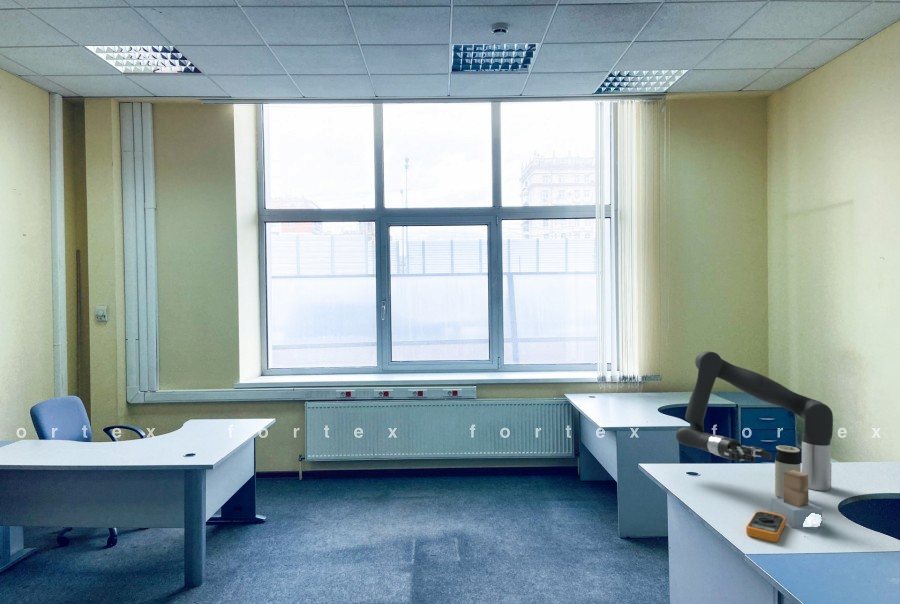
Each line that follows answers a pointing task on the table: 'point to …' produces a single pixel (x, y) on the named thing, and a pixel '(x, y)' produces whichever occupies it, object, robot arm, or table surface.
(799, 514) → the slate box
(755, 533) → the multimeter
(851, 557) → the table surface
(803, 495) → the walnut block
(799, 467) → the travel mug
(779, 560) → the table surface
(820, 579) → the table surface
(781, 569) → the table surface
